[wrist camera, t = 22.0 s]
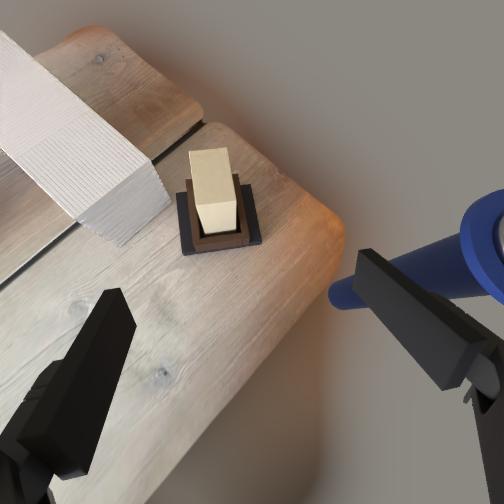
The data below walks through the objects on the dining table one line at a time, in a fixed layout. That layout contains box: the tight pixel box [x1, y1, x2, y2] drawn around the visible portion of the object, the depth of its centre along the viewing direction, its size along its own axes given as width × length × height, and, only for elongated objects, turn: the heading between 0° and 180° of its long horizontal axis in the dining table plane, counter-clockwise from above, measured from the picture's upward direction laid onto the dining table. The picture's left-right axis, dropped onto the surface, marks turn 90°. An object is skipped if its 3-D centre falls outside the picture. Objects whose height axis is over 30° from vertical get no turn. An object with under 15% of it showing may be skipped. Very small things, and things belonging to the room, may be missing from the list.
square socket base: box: [176, 174, 262, 256], centre depth 36 cm, size 12×10×4 cm
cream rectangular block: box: [189, 147, 237, 237], centre depth 32 cm, size 4×7×11 cm, turn 10°
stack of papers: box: [0, 30, 172, 248], centre depth 34 cm, size 32×11×11 cm, turn 49°
